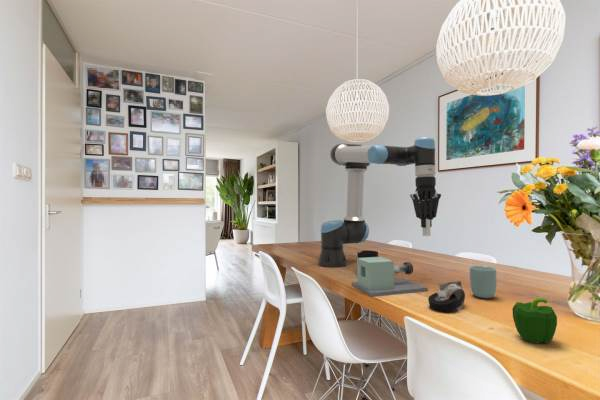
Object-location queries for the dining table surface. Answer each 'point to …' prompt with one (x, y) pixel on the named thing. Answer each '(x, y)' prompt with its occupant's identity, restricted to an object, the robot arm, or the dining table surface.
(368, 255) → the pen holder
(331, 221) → the robot arm
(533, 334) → the bell pepper
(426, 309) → the dining table surface
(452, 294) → the caster wheel
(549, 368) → the dining table surface
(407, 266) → the shaft
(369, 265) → the block
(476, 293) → the cup
